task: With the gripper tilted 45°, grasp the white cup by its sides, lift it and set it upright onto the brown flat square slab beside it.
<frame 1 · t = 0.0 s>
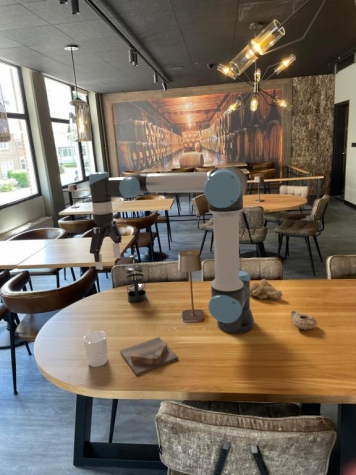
hand: (108, 263, 140), 28 cm above the table, tool pointing down, fingers open, 13 cm apart
ginger root: (262, 296, 166), on the table
pottery oil lamp: (302, 326, 138), on the table
white cup: (98, 361, 123), on the table
french press: (137, 298, 171), on the table
brown flat square slab: (146, 353, 125), on the table
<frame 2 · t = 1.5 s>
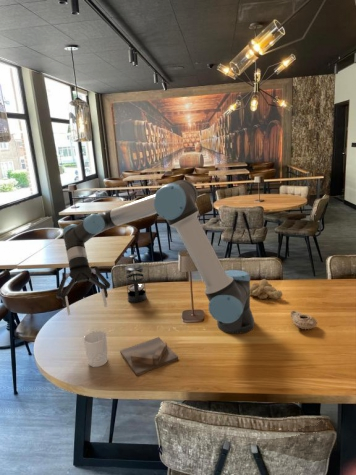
hand: (87, 309, 128), 15 cm above the table, tool tilted 45°, fingers open, 13 cm apart
nothing on the table moved.
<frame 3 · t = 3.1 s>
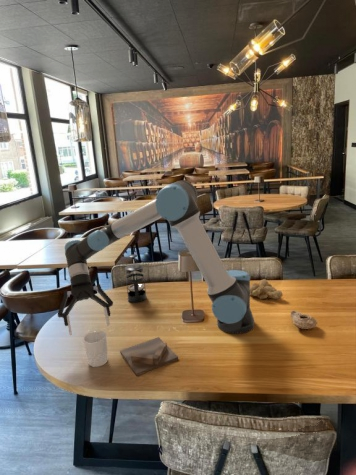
hand: (90, 329, 125), 10 cm above the table, tool tilted 45°, fingers open, 13 cm apart
nothing on the table moved.
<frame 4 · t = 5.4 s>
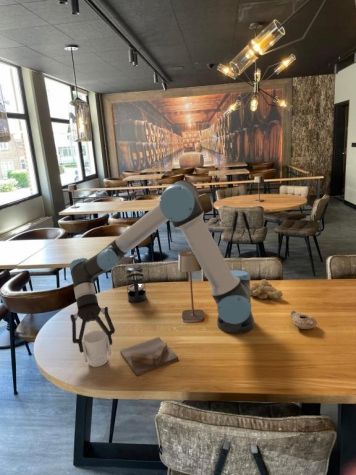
hand: (98, 357, 118), 4 cm above the table, tool tilted 45°, fingers closed on white cup, 8 cm apart
white cup: (98, 361, 123), on the table, touching gripper
everything else where it was.
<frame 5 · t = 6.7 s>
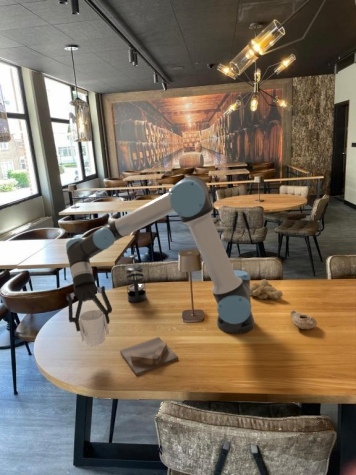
hand: (95, 336, 116), 12 cm above the table, tool tilted 45°, fingers closed on white cup, 8 cm apart
white cup: (95, 341, 120), point 8 cm above the table, touching gripper
everything else where it was.
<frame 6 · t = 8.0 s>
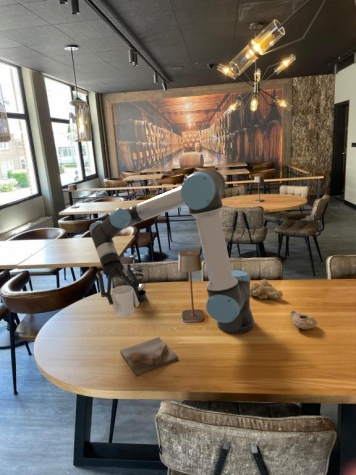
hand: (127, 308, 127), 16 cm above the table, tool tilted 45°, fingers closed on white cup, 8 cm apart
white cup: (125, 314, 131), point 12 cm above the table, touching gripper
everything else where it was.
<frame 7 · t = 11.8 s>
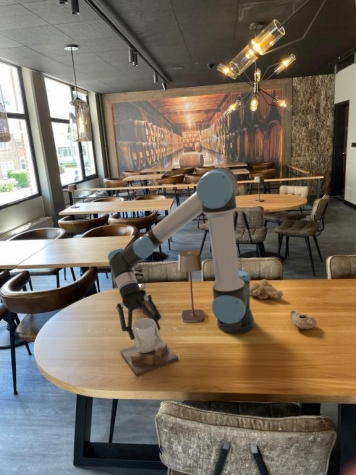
hand: (149, 343, 121), 6 cm above the table, tool tilted 45°, fingers closed on white cup, 7 cm apart
white cup: (146, 348, 125), point 2 cm above the table, touching gripper
everything else where it was.
when the fingers open (6 cm above the table, at t = 11.9 s): white cup drops 1 cm, resting on brown flat square slab.
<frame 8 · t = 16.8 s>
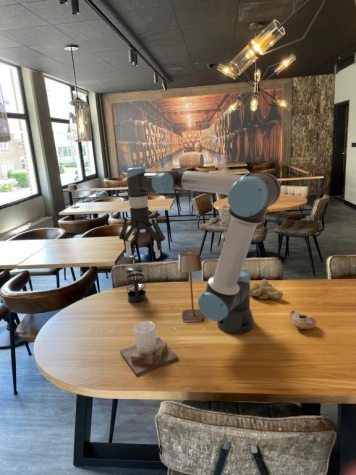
hand: (143, 256, 144), 29 cm above the table, tool pointing down, fingers open, 13 cm apart
white cup: (146, 351, 125), point 1 cm above the table, touching brown flat square slab
everything else where it was.
at the end: white cup 0.1 cm off-centre on the brown flat square slab, point 0.8 cm above the brown flat square slab's base; white cup tilted 0°; the gripper is holding nothing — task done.
